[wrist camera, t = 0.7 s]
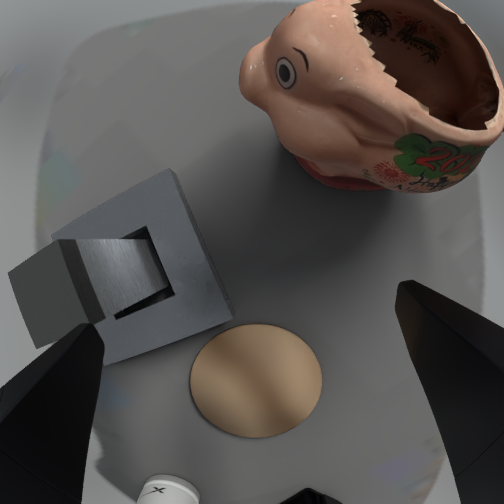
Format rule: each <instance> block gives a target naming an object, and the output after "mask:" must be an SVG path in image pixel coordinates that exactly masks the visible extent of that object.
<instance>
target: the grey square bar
mask: <svg viewBox="0 0 504 504" xmlns="http://www.w3.org/2000/svg"><path fill="white" fill-rule="evenodd" d="M8 275H9V279H10V282H11V285H12V288H13V291H14V294H15V297H16V300H17V303H18V305H19V308H20V311H21V313H22V316H23V319H24V321H25V324H26V326H27V328H28V331H29V333H30V336H31V338H32V340H33V342H34V345H35V347H36V349H38V348H40V347H43V346H45V345H48V344H50V343H53V342H55V341H57V340H60V339H61V338H62V337H64V336H65V335H66V334H67V333H69V332H70V331H71V330H73V329H74V328H75V327H76V326H78V325H79V324H81V323H92V324H93V325H95V324H96V323H98V322H100V321H102V320H104V319H106V318H108V317H110V316H112V315H114V314H115V313H117V312H119V311H121V310H123V309H125V308H127V307H129V306H131V305H133V304H135V303H137V302H138V301H140V300H142V299H144V298H146V297H148V296H150V295H152V294H154V293H156V292H158V291H160V290H161V289H163V288H165V287H167V286H169V283H168V281H167V279H166V276H165V274H164V272H163V269H162V267H161V265H160V262H159V260H158V258H157V255H156V253H155V250H154V248H153V245H152V243H151V240H146V239H57V240H56V241H54V242H52V243H51V244H49V245H48V246H46V247H45V248H43V249H42V250H40V251H39V252H37V253H36V254H34V255H33V256H31V257H30V258H29V259H27V260H25V261H24V262H23V263H21V264H20V265H18V266H17V267H15V268H14V269H13V270H11V271H10V272H8Z"/></svg>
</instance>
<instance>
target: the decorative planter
mask: <svg viewBox="0 0 504 504" xmlns="http://www.w3.org/2000/svg"><path fill="white" fill-rule="evenodd" d="M239 87H240V91H241V93H242V95H243V96H244V98H245V99H246V100H248V101H249V102H251V103H252V104H254V105H256V106H257V107H259V108H261V109H262V110H263V111H265V112H266V113H267V114H268V115H269V117H270V119H271V121H272V124H273V126H274V129H275V131H276V133H277V135H278V138H279V140H280V141H281V143H282V145H283V146H284V147H285V148H286V149H287V150H288V151H289V152H291V153H293V154H294V156H295V158H296V160H297V161H298V163H299V164H300V165H301V167H302V168H303V169H304V170H305V171H306V172H307V173H308V174H309V175H311V176H312V177H313V178H314V179H316V180H317V181H319V182H320V183H322V184H324V185H327V186H330V187H333V188H338V189H343V190H352V191H375V190H382V189H390V190H394V191H398V192H405V193H430V192H436V191H440V190H443V189H446V188H449V187H451V186H453V185H455V184H457V183H459V182H460V181H462V180H463V179H465V178H466V177H467V176H468V175H469V174H471V173H472V172H473V171H474V169H475V168H476V167H477V165H478V164H479V162H480V161H481V159H482V157H483V155H484V153H485V151H486V150H487V148H489V147H490V146H491V145H492V144H493V143H494V142H495V141H496V140H497V139H498V138H499V136H500V135H501V133H502V132H504V88H503V85H502V82H501V79H500V77H499V75H498V72H497V70H496V68H495V66H494V63H493V61H492V58H491V56H490V54H489V52H488V50H487V49H486V47H485V46H484V44H483V43H482V41H481V40H480V39H479V37H478V36H477V35H476V34H475V33H474V32H473V31H472V29H471V28H470V27H469V26H468V25H467V24H466V23H465V22H464V21H463V20H462V19H461V18H460V17H459V16H458V15H457V14H456V13H455V12H453V11H452V10H450V9H449V8H448V7H446V6H445V5H443V4H442V3H440V2H439V1H437V0H314V1H311V2H309V3H306V4H303V5H300V6H298V7H296V8H294V9H293V10H292V11H291V12H290V13H288V14H287V15H286V16H285V17H284V18H283V19H282V20H281V22H280V23H279V24H278V25H277V26H276V28H275V29H274V31H273V33H272V35H271V36H269V37H268V38H267V39H265V40H264V41H262V42H261V43H259V44H258V45H256V46H254V47H253V48H252V49H251V50H249V52H248V53H247V54H246V56H245V58H244V59H243V61H242V64H241V68H240V74H239Z"/></svg>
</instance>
